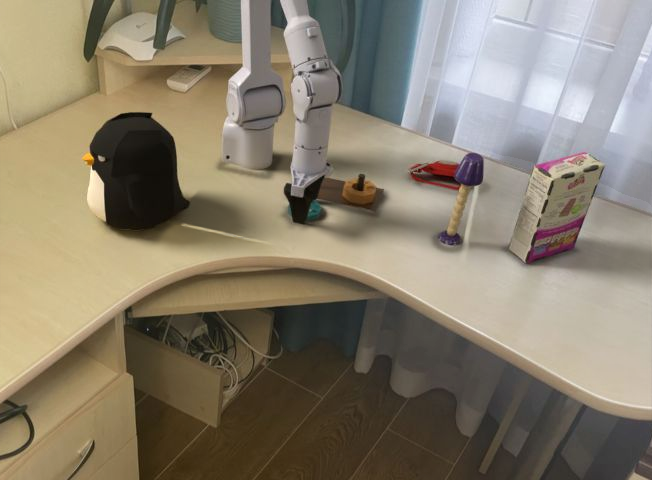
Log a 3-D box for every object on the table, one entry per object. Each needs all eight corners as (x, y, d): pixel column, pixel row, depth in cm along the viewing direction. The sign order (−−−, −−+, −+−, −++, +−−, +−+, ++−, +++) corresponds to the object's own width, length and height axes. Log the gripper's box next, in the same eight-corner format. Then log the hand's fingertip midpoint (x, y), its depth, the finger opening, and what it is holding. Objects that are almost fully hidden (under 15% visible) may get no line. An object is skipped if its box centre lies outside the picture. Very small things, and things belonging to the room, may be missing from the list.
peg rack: (290, 197, 137) (292, 172, 134) (301, 176, 143) (303, 152, 140) (375, 214, 134) (379, 190, 131) (383, 192, 140) (387, 169, 137)
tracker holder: (443, 156, 149) (485, 166, 142) (439, 178, 151) (480, 189, 144) (403, 159, 142) (445, 169, 135) (400, 182, 143) (441, 194, 137)
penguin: (81, 194, 135) (68, 102, 123) (177, 180, 140) (173, 91, 128) (99, 250, 123) (87, 155, 111) (204, 233, 127) (203, 140, 116)
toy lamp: (465, 239, 130) (490, 152, 119) (462, 253, 127) (487, 166, 115) (438, 233, 131) (460, 146, 120) (434, 247, 128) (456, 159, 116)
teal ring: (284, 220, 132) (284, 211, 130) (293, 204, 136) (293, 195, 134) (315, 227, 131) (316, 218, 129) (323, 210, 135) (324, 201, 133)
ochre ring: (340, 200, 136) (341, 191, 135) (347, 184, 140) (348, 176, 139) (370, 206, 135) (372, 197, 134) (376, 190, 139) (378, 182, 138)
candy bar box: (553, 234, 133) (585, 150, 121) (573, 249, 129) (608, 164, 118) (505, 249, 129) (533, 163, 117) (524, 265, 125) (555, 178, 114)
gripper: (324, 166, 117) (315, 238, 127) (344, 126, 128) (335, 195, 137) (281, 158, 119) (276, 229, 128) (304, 119, 129) (298, 188, 138)
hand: (304, 211), depth 133 cm, fingers open, 6 cm apart
